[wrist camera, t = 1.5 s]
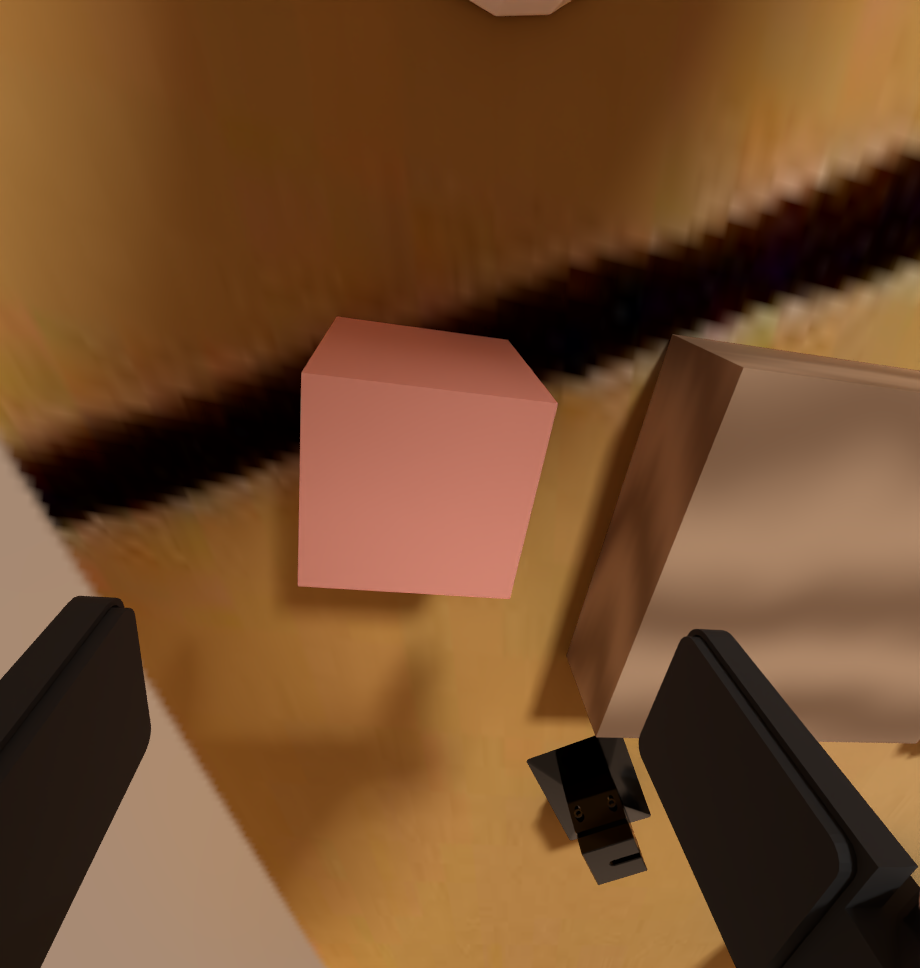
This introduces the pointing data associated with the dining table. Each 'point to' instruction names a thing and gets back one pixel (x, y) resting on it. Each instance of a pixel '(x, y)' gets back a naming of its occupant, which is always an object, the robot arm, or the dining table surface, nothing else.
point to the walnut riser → (766, 540)
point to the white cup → (520, 6)
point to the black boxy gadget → (596, 802)
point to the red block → (417, 460)
